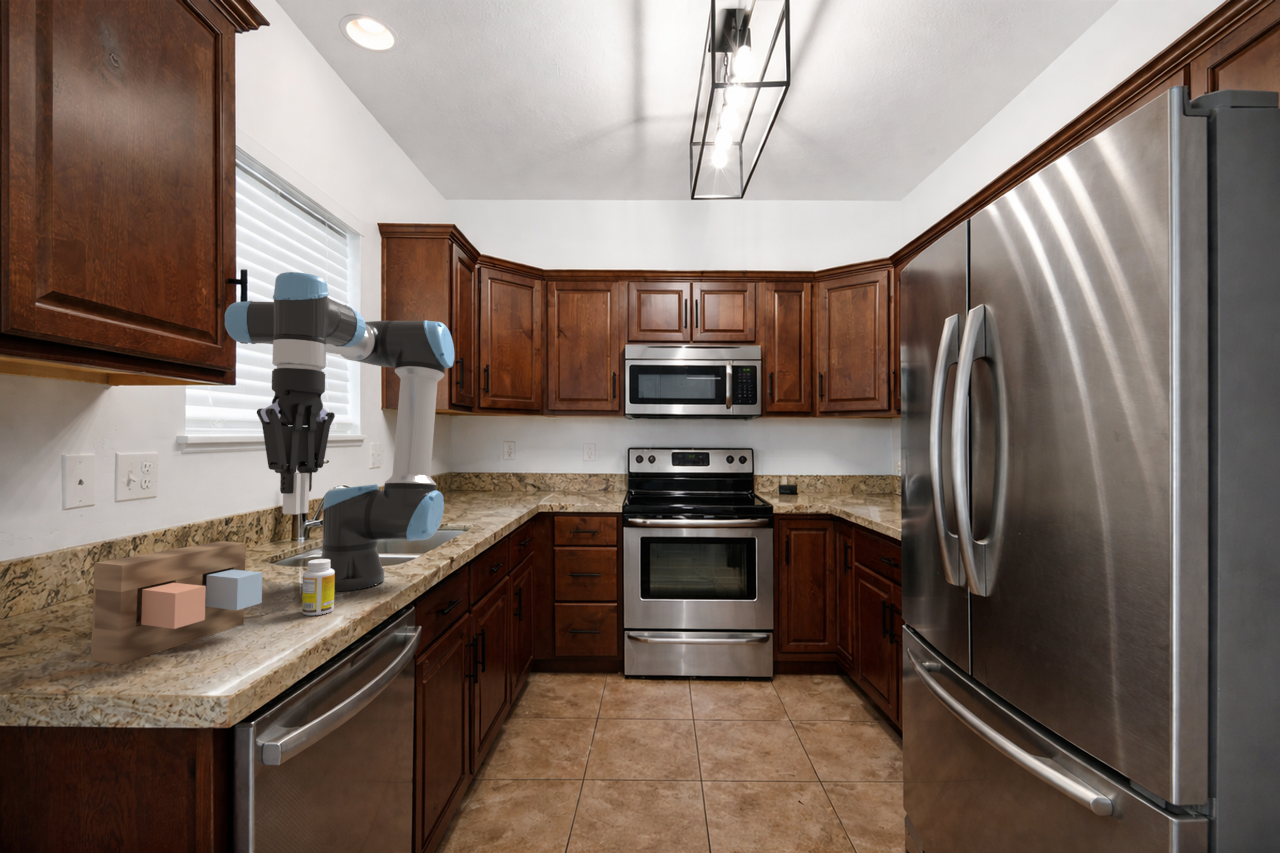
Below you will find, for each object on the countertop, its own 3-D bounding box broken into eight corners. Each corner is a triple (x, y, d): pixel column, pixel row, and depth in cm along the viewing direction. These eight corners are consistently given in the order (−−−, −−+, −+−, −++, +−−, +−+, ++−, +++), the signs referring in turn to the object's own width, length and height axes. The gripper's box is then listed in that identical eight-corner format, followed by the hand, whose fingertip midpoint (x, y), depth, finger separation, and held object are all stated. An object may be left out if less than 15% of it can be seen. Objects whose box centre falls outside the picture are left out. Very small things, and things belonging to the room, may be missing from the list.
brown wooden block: (218, 621, 107) (221, 541, 107) (243, 624, 105) (245, 543, 105) (91, 660, 87) (94, 562, 88) (118, 665, 86) (122, 565, 86)
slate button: (231, 599, 102) (232, 569, 103) (261, 602, 101) (262, 572, 101) (205, 606, 98) (206, 575, 98) (236, 610, 96) (237, 578, 96)
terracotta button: (172, 615, 93) (173, 582, 93) (204, 619, 91) (205, 586, 91) (141, 624, 88) (142, 589, 89) (174, 629, 86) (175, 593, 87)
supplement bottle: (334, 606, 116) (335, 556, 117) (333, 614, 111) (334, 562, 112) (303, 610, 114) (304, 559, 114) (300, 618, 109) (301, 564, 109)
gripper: (315, 374, 101) (312, 507, 100) (241, 364, 87) (236, 517, 87) (350, 373, 99) (347, 509, 98) (279, 362, 85) (275, 519, 85)
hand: (295, 512), depth 92 cm, fingers closed
